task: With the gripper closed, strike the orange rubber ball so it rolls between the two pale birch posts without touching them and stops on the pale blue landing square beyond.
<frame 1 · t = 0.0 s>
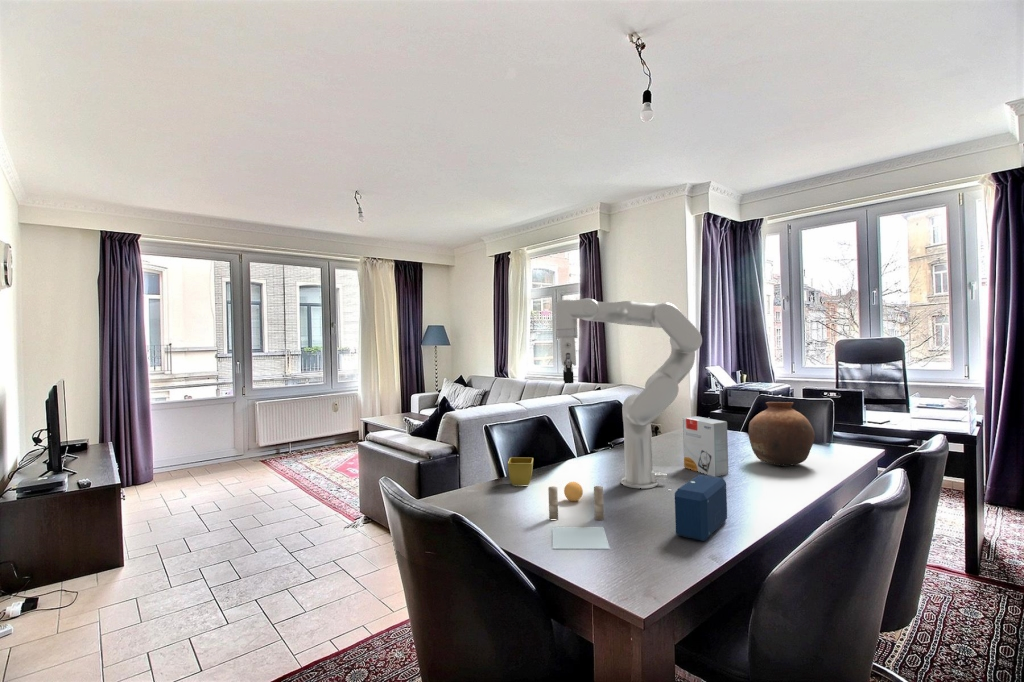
hand: (568, 382, 177), 37 cm above the table, tool pointing down, fingers open, 9 cm apart
pottery: (781, 464, 195), on the table
ball: (573, 491, 159), on the table
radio: (701, 529, 133), on the table
hard drive box: (705, 471, 189), on the table
flower pot: (521, 485, 178), on the table
post 1: (553, 518, 143), on the table
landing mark: (579, 537, 129), on the table
post 2: (599, 518, 142), on the table
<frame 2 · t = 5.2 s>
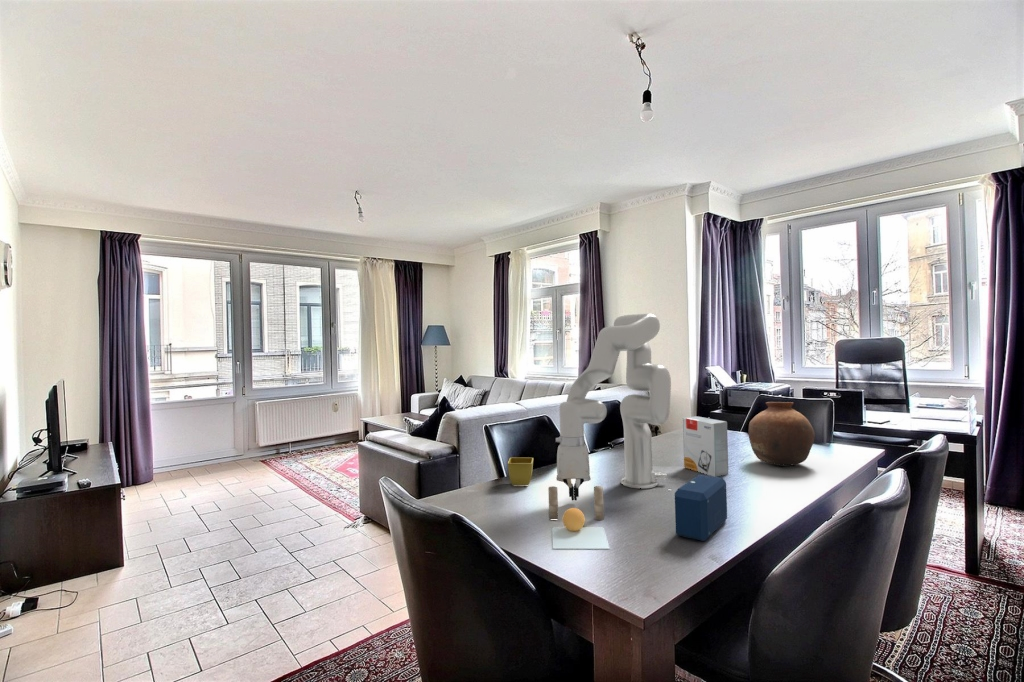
hand: (574, 499, 156), 2 cm above the table, tool pointing down, fingers closed
ball: (573, 519, 134), on the table
everything else where it was.
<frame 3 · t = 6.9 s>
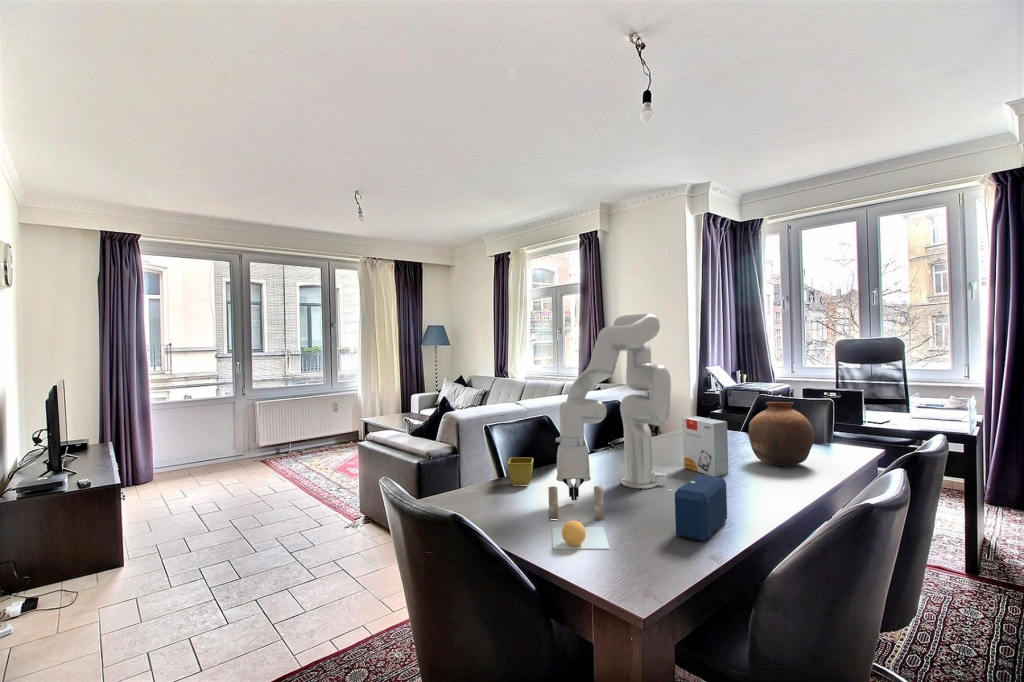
hand: (574, 499, 156), 2 cm above the table, tool pointing down, fingers closed
ball: (573, 533, 124), on the table
everything else where it was.
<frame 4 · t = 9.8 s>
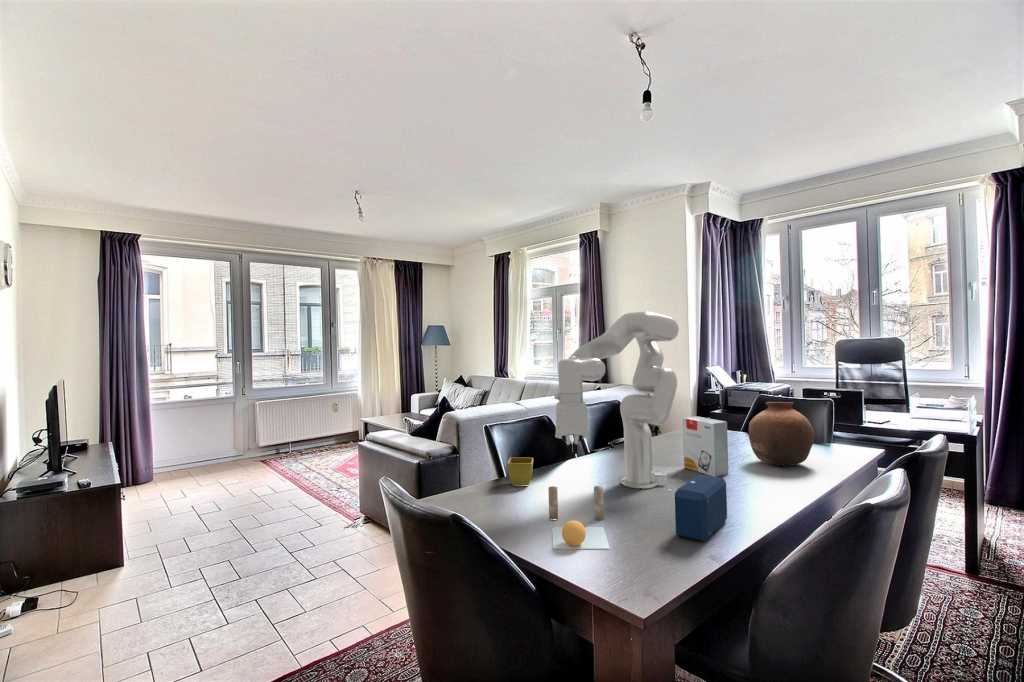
hand: (572, 456, 156), 15 cm above the table, tool pointing down, fingers closed
nothing on the table moved.
at the end: ball 4.8 cm from the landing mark (horizontally); ball never touched post 2; ball never touched post 1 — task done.
